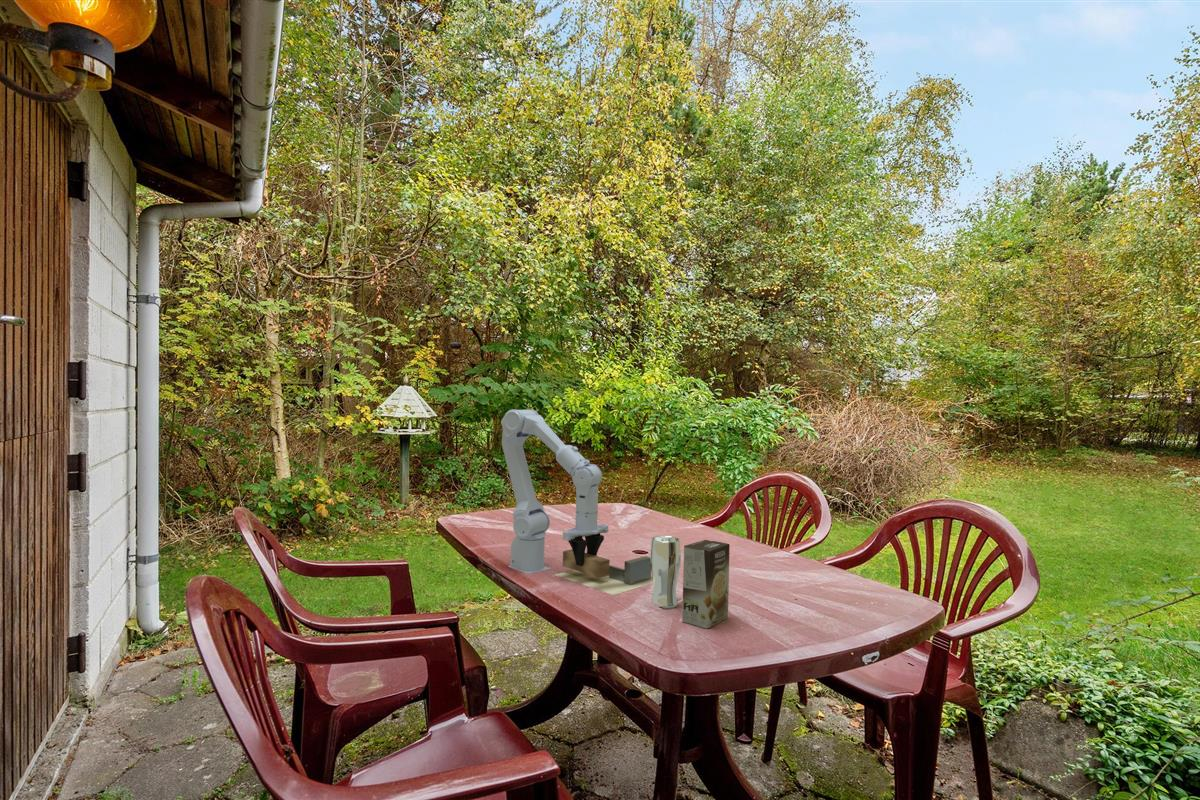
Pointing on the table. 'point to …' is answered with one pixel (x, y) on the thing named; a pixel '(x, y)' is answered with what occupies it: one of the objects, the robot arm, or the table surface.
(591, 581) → the board
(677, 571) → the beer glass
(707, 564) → the coffee box
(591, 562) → the brown wooden block
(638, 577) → the bracket
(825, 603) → the table surface
